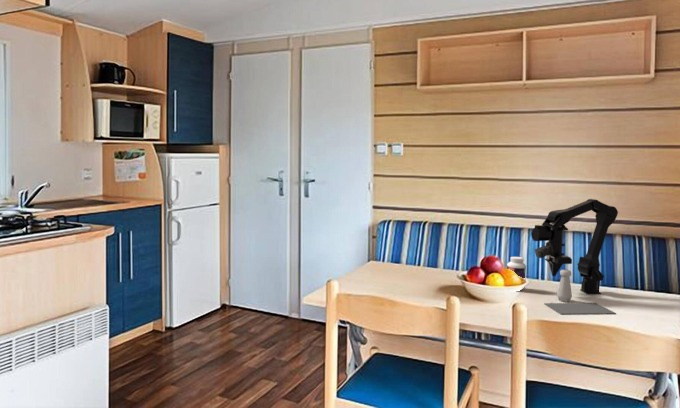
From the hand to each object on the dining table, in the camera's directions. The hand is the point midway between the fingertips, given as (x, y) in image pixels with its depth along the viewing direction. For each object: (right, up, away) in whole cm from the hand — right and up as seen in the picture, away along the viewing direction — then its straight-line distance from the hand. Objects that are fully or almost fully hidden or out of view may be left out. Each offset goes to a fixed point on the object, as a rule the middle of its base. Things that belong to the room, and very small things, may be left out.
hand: (553, 276), depth 237 cm
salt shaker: (+1, -9, -9) cm, 13 cm away
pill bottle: (-14, -7, +9) cm, 18 cm away
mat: (+2, -10, -21) cm, 23 cm away
